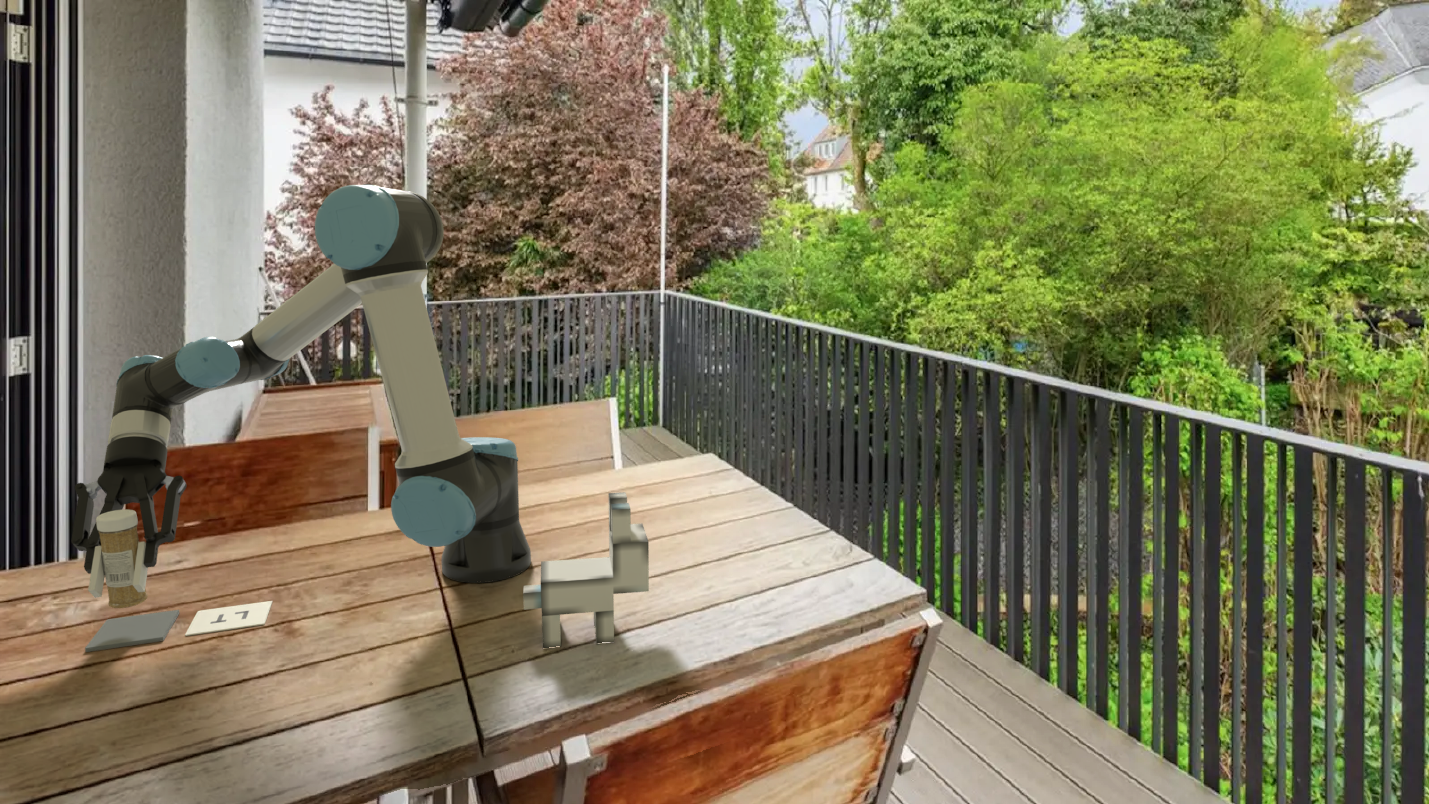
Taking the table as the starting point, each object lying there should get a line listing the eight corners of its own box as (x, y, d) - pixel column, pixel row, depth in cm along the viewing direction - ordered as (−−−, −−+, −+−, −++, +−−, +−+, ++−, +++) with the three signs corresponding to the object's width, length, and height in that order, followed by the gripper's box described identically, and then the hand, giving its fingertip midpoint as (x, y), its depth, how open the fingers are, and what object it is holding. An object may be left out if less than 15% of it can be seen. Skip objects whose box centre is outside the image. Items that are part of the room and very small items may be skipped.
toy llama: (526, 625, 116) (521, 497, 112) (642, 616, 119) (642, 491, 115) (524, 650, 108) (519, 514, 105) (648, 639, 112) (648, 507, 108)
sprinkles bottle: (155, 595, 114) (144, 508, 111) (133, 610, 109) (121, 519, 107) (123, 595, 114) (111, 508, 111) (99, 609, 109) (87, 519, 106)
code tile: (272, 601, 122) (272, 600, 122) (264, 624, 115) (264, 623, 115) (198, 612, 118) (197, 610, 118) (185, 636, 111) (184, 634, 111)
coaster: (179, 613, 118) (179, 609, 118) (163, 640, 110) (162, 636, 110) (107, 623, 115) (107, 619, 114) (85, 652, 106) (84, 648, 106)
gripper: (209, 454, 125) (197, 591, 113) (77, 463, 119) (49, 610, 107) (198, 429, 119) (184, 572, 108) (58, 438, 113) (27, 590, 101)
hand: (117, 590), depth 107 cm, fingers closed on sprinkles bottle, 4 cm apart
